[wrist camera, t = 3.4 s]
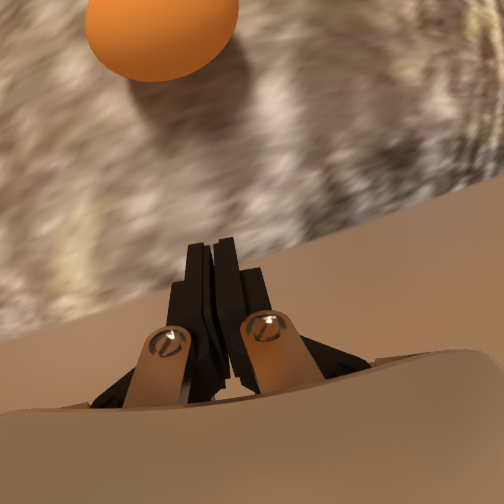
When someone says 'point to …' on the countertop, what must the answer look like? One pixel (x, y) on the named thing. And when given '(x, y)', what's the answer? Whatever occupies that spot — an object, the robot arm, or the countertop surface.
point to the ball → (159, 35)
